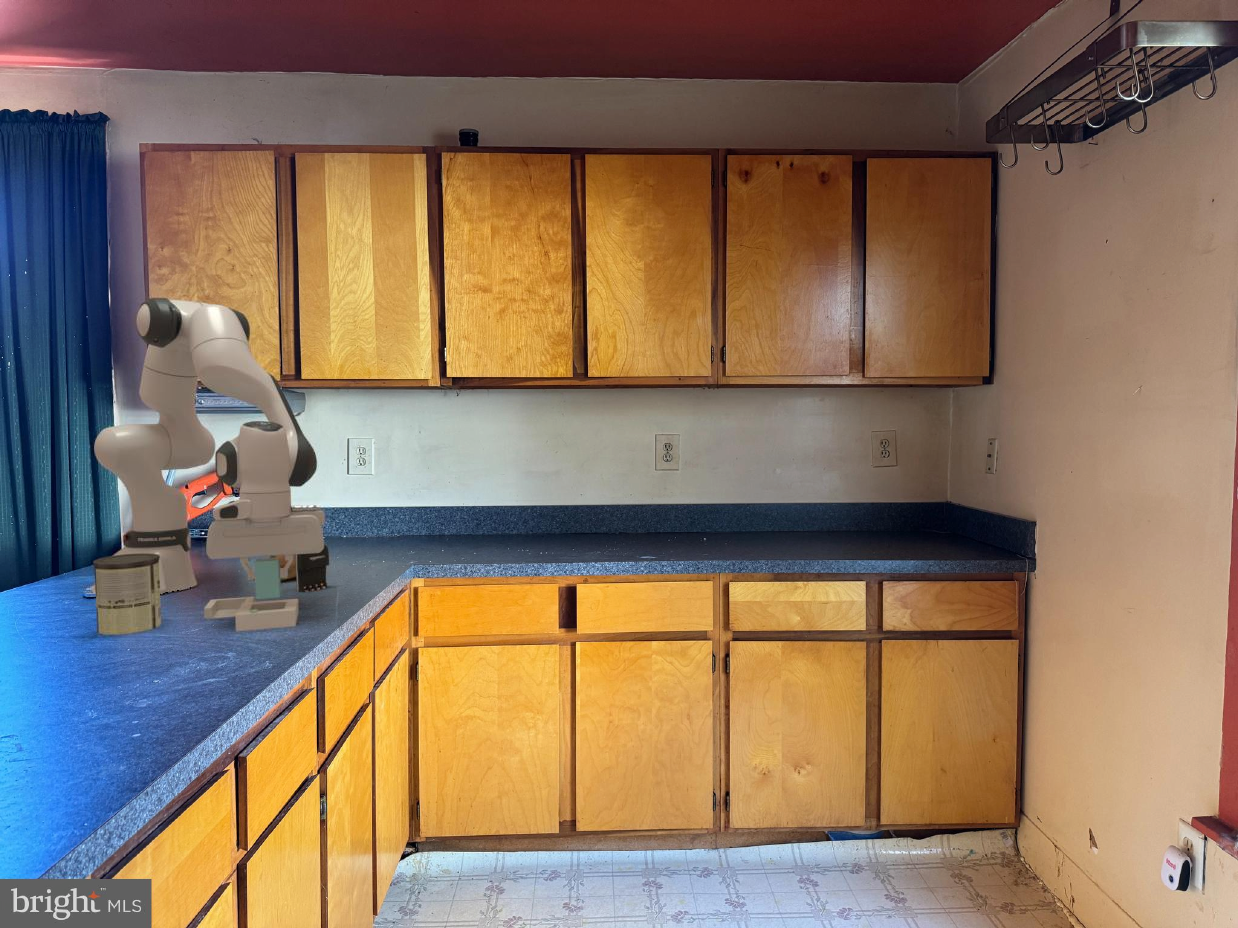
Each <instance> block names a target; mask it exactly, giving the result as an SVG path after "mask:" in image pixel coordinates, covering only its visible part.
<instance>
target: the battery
mask: <svg viewBox="0 0 1238 928" xmlns="http://www.w3.org/2000/svg"><path fill="white" fill-rule="evenodd" d="M328 566H330V553H329V547H328V546H327V545H326V544H324V548H323V550H322V551H321V552H320V553H310V554H295V569H296V577H295V579H296V582H295V583H296V592H298V593H305V592H306V593H307V592H310V591H316V589H317V590H320V589H326V588H328V583H327V567H328Z"/></svg>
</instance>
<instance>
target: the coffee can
mask: <svg viewBox="0 0 1238 928" xmlns="http://www.w3.org/2000/svg"><path fill="white" fill-rule="evenodd" d="M159 559H160V556H159V555H157V554H149V553H148V554H147V553H140V554H124V555H116V556H113V555H111V556H110V555H109V556H106V557H105V556H104V557H100V558H98V559H95V560H93V567H94V584H95V590H96V598H95V607H96V627H97V630H96V631H97V634H98V633H99V635H103V636H104V635H105V636H115V635H117V636H118V635H120V636H121V635H122V636H123V635H129V634H136V633H142V632H147V631H151V630H153V629H157V628H158V627H160V626H162V606H161V595H160V576H159Z"/></svg>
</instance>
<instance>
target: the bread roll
mask: <svg viewBox="0 0 1238 928" xmlns="http://www.w3.org/2000/svg"><path fill="white" fill-rule="evenodd" d="M278 557H280V568H284V567H285V565H286V564H287V562H288V561H286V560H285V555H276V556H269V558H278ZM294 578H296V569H295V554H294V559H293V561H292V563H291V565H290V566H289V568H288V578H283V579H280V581H285V580H289V579H294Z"/></svg>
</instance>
